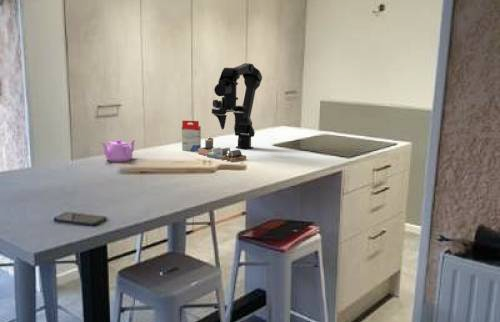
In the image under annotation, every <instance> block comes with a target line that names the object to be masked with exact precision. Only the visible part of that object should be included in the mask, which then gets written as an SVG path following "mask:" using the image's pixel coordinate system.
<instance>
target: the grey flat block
mask: <svg viewBox="0 0 500 322" xmlns="http://www.w3.org/2000/svg"><path fill="white" fill-rule="evenodd" d="M221 149H222V147H219V146H218V147H214V148H212V149H211V152H209V153H208V154H207V156H206V158H210V159H214V158H215V160H219V159H222V155H221ZM223 156H226V155H223Z"/></svg>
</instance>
